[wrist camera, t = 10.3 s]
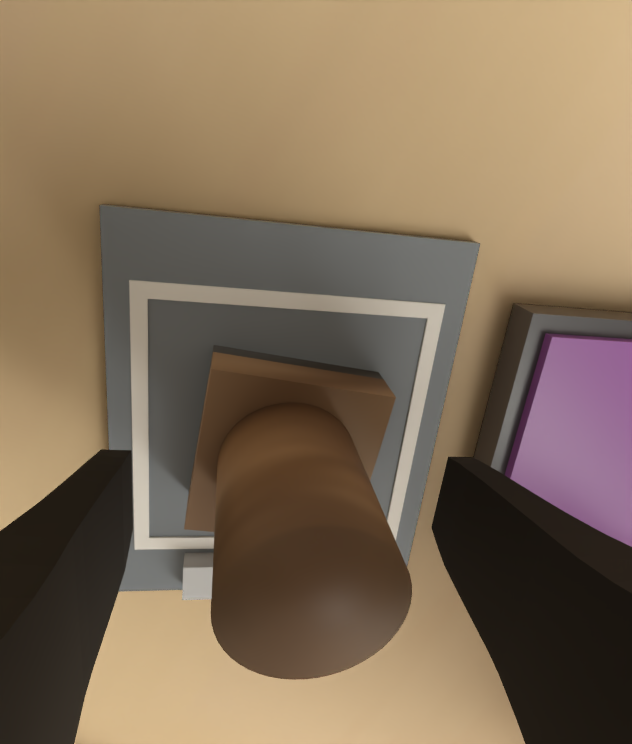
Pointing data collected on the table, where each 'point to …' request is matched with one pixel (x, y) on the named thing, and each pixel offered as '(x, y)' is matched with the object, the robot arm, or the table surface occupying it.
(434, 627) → the table surface
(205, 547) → the grey framed plate
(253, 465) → the stamp
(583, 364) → the ink pad
